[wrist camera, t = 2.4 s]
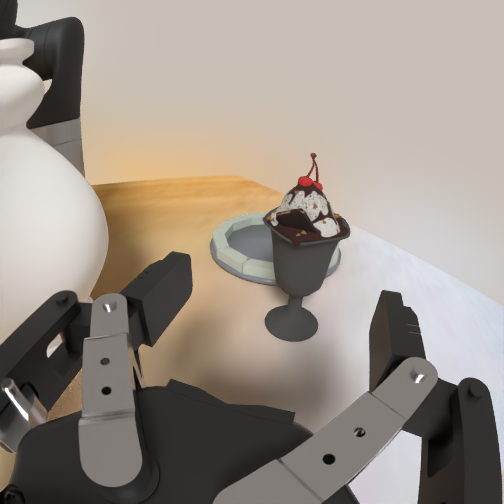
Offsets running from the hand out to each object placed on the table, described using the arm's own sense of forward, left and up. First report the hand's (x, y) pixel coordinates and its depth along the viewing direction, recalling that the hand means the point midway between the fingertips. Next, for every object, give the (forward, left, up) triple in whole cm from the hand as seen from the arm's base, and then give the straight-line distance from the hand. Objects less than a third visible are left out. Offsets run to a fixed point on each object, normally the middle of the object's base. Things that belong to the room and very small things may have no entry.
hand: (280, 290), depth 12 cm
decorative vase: (-18, +12, -12) cm, 25 cm away
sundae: (+6, +10, -12) cm, 16 cm away
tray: (+9, +24, -12) cm, 28 cm away
